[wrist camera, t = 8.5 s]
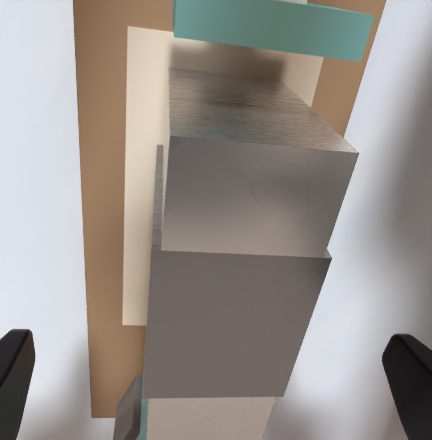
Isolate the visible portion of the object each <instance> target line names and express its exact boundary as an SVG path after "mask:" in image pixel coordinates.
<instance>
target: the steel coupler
mask: <svg viewBox="0 0 432 440" xmlns="http://www.w3.org/2000/svg"><path fill="white" fill-rule="evenodd" d="M358 155H359V152H358V151H357V150H355V149H354V148H353V147H352V146H351V145H350V144H349V143H348V142H347V141H346V140H345V139H344V138H343V137H342V136H340V135H339V134H338V133H337V132H336V131H335V130H334V129H333V128H332V127H331V126H330V125H329V124H328V123H327V122H326V121H324V120H323V119H322V118H321V117H320V116H319V115H318V114H317V113H316V112H315V111H314V110H313V109H312V108H311V107H310V106H308V105H307V104H306V103H305V102H304V101H303V100H302V99H301V98H300V97H299V96H298V95H297V94H296V93H295V92H294V91H292V90H291V89H290V88H289V87H288V86H287V85H286V84H285V83H284V82H283V81H281V80H273V79H264V78H256V77H247V76H239V75H230V74H222V73H213V72H205V71H197V70H188V69H180V68H171V67H168V78H167V93H166V108H165V122H164V137H163V145H158V144H157V152H156V169H155V186H154V203H153V219H152V236H151V253H150V270H149V288H148V306H147V324H146V342H145V360H144V378H143V396H142V399H148V411H147V435H146V440H262V438H263V435H264V432H265V429H266V426H267V423H268V420H269V417H270V414H271V411H272V408H273V405H274V403H275V400H276V397H283V396H284V393H285V390H286V387H287V384H288V381H289V379H290V376H291V373H292V370H293V367H294V364H295V362H296V359H297V356H298V353H299V350H300V347H301V345H302V342H303V339H304V336H305V333H306V330H307V328H308V325H309V322H310V319H311V316H312V313H313V311H314V308H315V305H316V302H317V299H318V296H319V294H320V291H321V288H322V285H323V282H324V279H325V277H326V274H327V271H328V268H329V265H330V262H331V260H332V257H331V255H330V254H329V252H328V250H327V246H328V243H329V240H330V237H331V235H332V232H333V229H334V226H335V223H336V220H337V217H338V214H339V211H340V208H341V205H342V202H343V199H344V196H345V193H346V190H347V187H348V184H349V181H350V178H351V176H352V173H353V170H354V167H355V164H356V161H357V158H358Z"/></svg>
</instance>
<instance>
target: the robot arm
mask: <svg viewBox="0 0 432 440" xmlns="http://www.w3.org/2000/svg"><path fill="white" fill-rule="evenodd" d="M34 363H35V349H34V342H33V335H32V332H31V330H29V329H13V330H10V331H9V332H8V333H7V334H6V335H5V336H4V337H2V338H1V339H0V440H16V438H17V435H18V432H19V428H20V424H21V420H22V416H23V412H24V407H25V403H26V399H27V394H28V390H29V385H30V381H31V377H32V372H33V368H34ZM382 363H383V367H384V370H385V373H386V376H387V379H388V383H389V386H390V389H391V392H392V395H393V399H394V402H395V405H396V408H397V411H398V414H399V417H400V420H401V422H402V425H403V428H404V430H405V432H406V435H407V437H408V440H432V350H431V349H429V348H428V347H427V346H425V345H424V344H423V343H421V342H420V341H419V340H417V339H416V338H415V337H413V336H412V335H410V334H394V335H393V336H392V337H391V339H390V341H389V343H388V345H387V346H386V348H385V350H384V352H383V355H382Z"/></svg>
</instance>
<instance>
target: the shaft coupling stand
mask: <svg viewBox="0 0 432 440" xmlns="http://www.w3.org/2000/svg"><path fill="white" fill-rule="evenodd" d="M385 3H386V0H73V15H74V37H75V59H76V81H77V103H78V125H79V147H80V169H81V191H82V213H83V235H84V257H85V279H86V301H87V323H88V345H89V367H90V389H91V411H92V418H114V417H116V420H115V429H114V438H113V440H146V435H147V411H148V399H142V396H143V378H144V360H145V342H146V324H147V306H148V288H149V270H150V253H151V236H152V219H153V203H154V186H155V169H156V152H157V144H158V145H163V137H164V122H165V108H166V93H167V78H168V67H171V68H180V69H188V70H197V71H205V72H213V73H222V74H230V75H239V76H247V77H256V78H264V79H273V80H281V81H283V82H284V83H285V84H286V85H287V86H288V87H289V88H290V89H291V90H292V91H294V92H295V93H296V94H297V95H298V96H299V97H300V98H301V99H302V100H303V101H304V102H305V103H306V104H307V105H308V106H310V107H311V108H312V109H313V110H314V111H315V112H316V113H317V114H318V115H319V116H320V117H321V118H322V119H323V120H324V121H326V122H327V123H328V124H329V125H330V126H331V127H332V128H333V129H334V130H335V131H336V132H337V133H338V134H339V135H340V136H342V137H344V134H345V131H346V128H347V125H348V121H349V118H350V115H351V112H352V109H353V105H354V102H355V99H356V96H357V93H358V89H359V86H360V83H361V80H362V76H363V73H364V70H365V67H366V64H367V60H368V57H369V54H370V51H371V48H372V44H373V41H374V38H375V35H376V32H377V28H378V25H379V22H380V19H381V16H382V12H383V9H384V6H385Z"/></svg>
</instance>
